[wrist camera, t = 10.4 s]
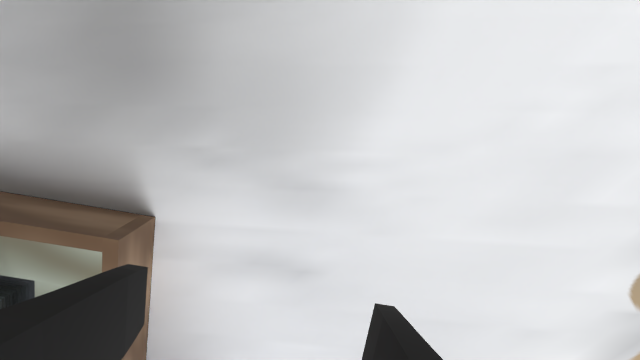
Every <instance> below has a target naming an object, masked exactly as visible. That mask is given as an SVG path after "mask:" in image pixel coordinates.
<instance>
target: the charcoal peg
mask: <svg viewBox="0 0 640 360" xmlns="http://www.w3.org/2000/svg"><path fill="white" fill-rule="evenodd" d="M34 297H35V281H34V280H27V279H21V278H15V277H8V276H2V275H0V309H3V308H5V307H8V306H11V305H14V304H17V303H20V302H23V301H26V300H29V299H32V298H34Z"/></svg>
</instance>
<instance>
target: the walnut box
mask: <svg viewBox="0 0 640 360" xmlns="http://www.w3.org/2000/svg"><path fill="white" fill-rule="evenodd" d="M154 229H155V217H152V216H146V215H140V214H134V213H128V212H122V211H115V210H109V209H103V208H97V207H91V206H85V205H79V204H73V203H67V202H61V201H55V200H49V199H43V198H37V197H31V196H25V195H19V194H13V193H7V192H1V191H0V275H2V276H8V277H15V278H21V279H27V280H34V281H35V297H37V296H40V295H43V294H46V293H49V292H52V291H54V290H57V289H60V288H62V287H65V286H68V285H70V284H73V283H76V282H78V281H81V280H84V279H86V278H89V277H92V276H94V275H97V274H100V273H102V272H105V271H108V270H111V269H113V268H116V267H119V266H123V265H126V264H132V265H138V266H144V267H148V274H147V290H146V306H145V322H144V326H143V327H142V329H141V331H140V332H139V334H138V336H137V337H136V339H135V340H134V342H133V344H132V345H131V347H130V348H129V350H128V351H127V353H126V354H125V356H124V357H123V358H122V360H146V352H147V336H148V321H149V305H150V290H151V275H152V259H153V244H154Z"/></svg>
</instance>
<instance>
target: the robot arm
mask: <svg viewBox="0 0 640 360" xmlns="http://www.w3.org/2000/svg"><path fill="white" fill-rule="evenodd" d="M147 274H148V267H144V266H138V265H132V264H126V265H123V266H119V267H116V268H113V269H111V270H108V271H105V272H102V273H100V274H97V275H94V276H92V277H89V278H86V279H84V280H81V281H78V282H76V283H73V284H70V285H68V286H65V287H62V288H60V289H57V290H54V291H52V292H49V293H46V294H43V295H40V296H37V297H34V298H32V299H29V300H26V301H23V302H20V303H17V304H14V305H11V306H8V307H5V308H3V309H0V360H122V358H123V357H124V356H125V354H126V353H127V351H128V350H129V348H130V347H131V345H132V344H133V342H134V340H135V339H136V337H137V336H138V334H139V332H140V331H141V329H142V327H143V326H144V322H145V306H146V290H147ZM362 360H443V359H442V358H441V357H440V356H439V355H438V354H437V353H436V352H435V351H434V350H433V349H432V348H431V346H430V345H429V344H428V343H427V342H426V341H425V340H424V339H423V338H422V337H421V336H420V334H419V333H418V332H417V331H416V330H415V329H414V328H413V327H412V325H411V324H410V323H409V322H408V321H407V320H406V319H405V318H404V317H403V315H402V314H401V313H400V312H399V311H398V310H397V309H396V308H395V307H394V306H388V305H381V304H375V306H374V310H373V315H372V319H371V323H370V327H369V331H368V336H367V340H366V344H365V348H364V352H363V357H362Z"/></svg>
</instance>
